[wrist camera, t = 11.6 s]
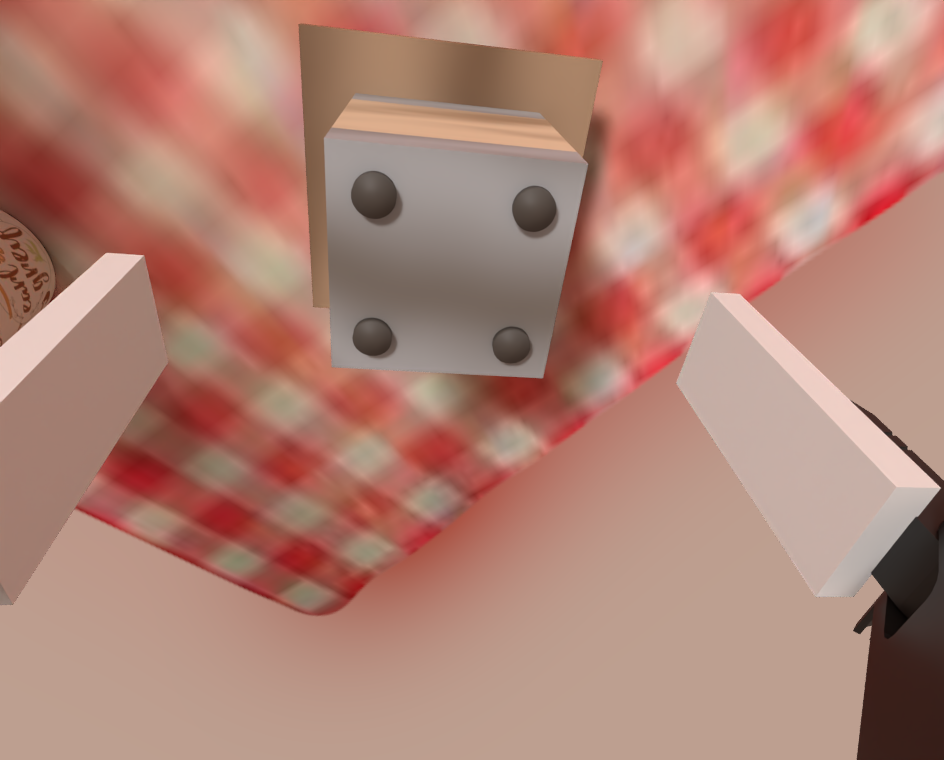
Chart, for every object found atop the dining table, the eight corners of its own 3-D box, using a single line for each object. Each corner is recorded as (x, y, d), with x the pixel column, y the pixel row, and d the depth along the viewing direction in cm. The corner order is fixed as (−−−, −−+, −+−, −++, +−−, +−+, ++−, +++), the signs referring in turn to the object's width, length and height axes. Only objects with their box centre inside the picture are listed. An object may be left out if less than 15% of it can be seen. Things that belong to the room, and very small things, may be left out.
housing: (355, 93, 21) (322, 140, 14) (539, 112, 22) (591, 166, 15) (356, 269, 25) (330, 372, 18) (513, 280, 26) (544, 383, 19)
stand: (322, 279, 28) (313, 307, 26) (312, 20, 22) (298, 24, 20) (538, 295, 30) (549, 322, 27) (584, 53, 24) (602, 60, 21)
